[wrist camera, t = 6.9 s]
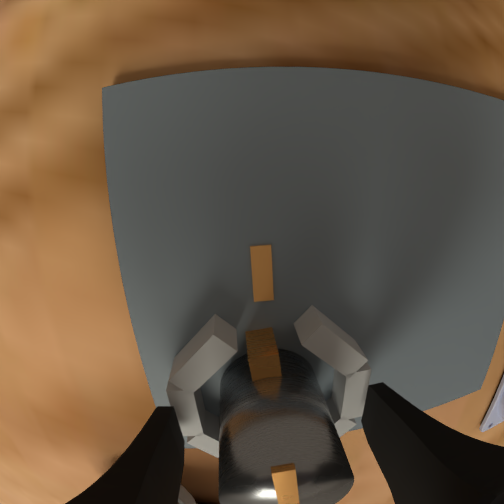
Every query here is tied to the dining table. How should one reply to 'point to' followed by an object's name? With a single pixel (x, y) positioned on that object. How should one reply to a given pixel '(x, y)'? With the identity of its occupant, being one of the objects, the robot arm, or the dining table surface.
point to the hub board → (308, 231)
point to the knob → (277, 431)
